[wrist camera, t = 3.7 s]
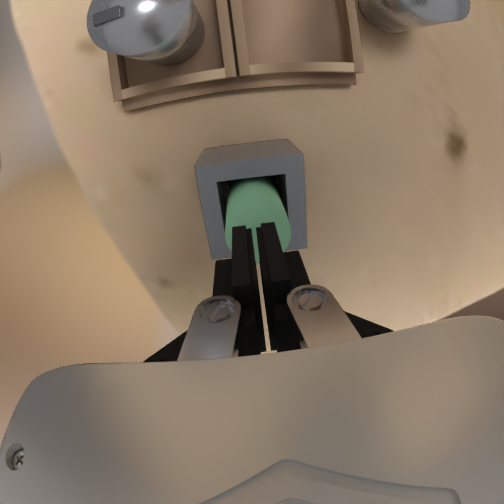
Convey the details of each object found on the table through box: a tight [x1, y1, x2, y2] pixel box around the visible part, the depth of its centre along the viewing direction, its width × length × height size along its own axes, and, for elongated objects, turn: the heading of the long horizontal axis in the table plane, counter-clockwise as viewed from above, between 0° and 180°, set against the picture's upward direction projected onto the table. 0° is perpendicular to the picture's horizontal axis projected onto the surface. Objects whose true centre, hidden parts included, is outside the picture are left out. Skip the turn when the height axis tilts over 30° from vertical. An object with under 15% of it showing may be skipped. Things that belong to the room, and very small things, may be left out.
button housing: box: [194, 139, 307, 259], centre depth 18 cm, size 6×6×5 cm
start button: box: [225, 176, 291, 263], centre depth 16 cm, size 3×3×6 cm
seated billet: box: [87, 0, 205, 66], centre depth 11 cm, size 4×4×7 cm
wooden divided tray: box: [107, 0, 364, 112], centre depth 14 cm, size 15×9×2 cm, turn 96°
